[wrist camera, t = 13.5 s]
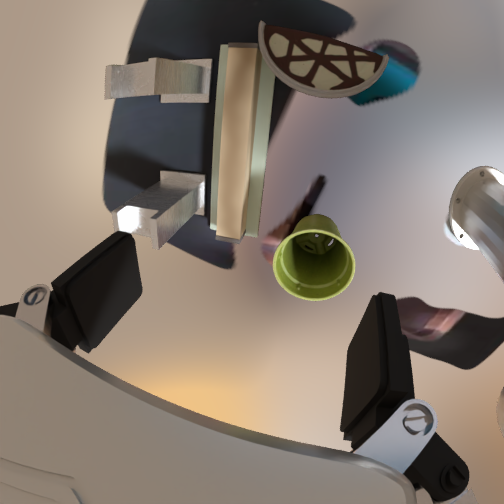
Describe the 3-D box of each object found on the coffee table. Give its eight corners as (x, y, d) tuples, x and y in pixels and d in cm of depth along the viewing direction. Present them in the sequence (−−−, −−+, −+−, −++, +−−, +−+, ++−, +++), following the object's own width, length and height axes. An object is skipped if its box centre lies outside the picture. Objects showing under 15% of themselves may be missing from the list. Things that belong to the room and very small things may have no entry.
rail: (263, 48, 26) (257, 43, 24) (245, 232, 40) (239, 244, 37) (236, 47, 27) (228, 42, 24) (223, 228, 40) (215, 239, 37)
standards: (213, 59, 29) (162, 44, 18) (205, 213, 40) (163, 259, 30) (165, 62, 30) (103, 56, 19) (163, 207, 41) (114, 248, 31)
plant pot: (272, 245, 41) (260, 281, 33) (299, 189, 35) (293, 215, 28) (329, 272, 41) (328, 311, 33) (361, 220, 35) (371, 253, 28)
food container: (262, 85, 29) (240, 79, 21) (272, 41, 26) (254, 19, 18) (360, 113, 29) (377, 117, 20) (373, 69, 25) (393, 56, 17)
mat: (278, 47, 26) (277, 46, 26) (258, 235, 40) (257, 237, 40) (222, 45, 27) (220, 44, 27) (211, 227, 41) (210, 228, 41)
